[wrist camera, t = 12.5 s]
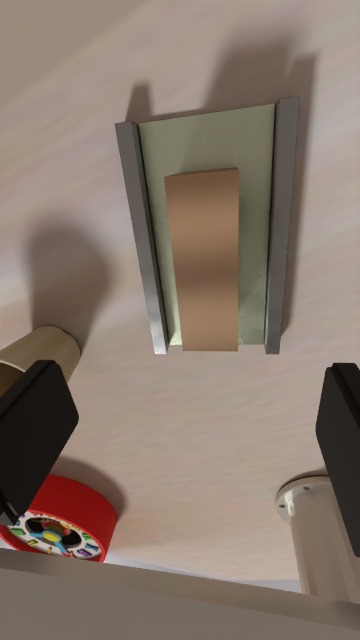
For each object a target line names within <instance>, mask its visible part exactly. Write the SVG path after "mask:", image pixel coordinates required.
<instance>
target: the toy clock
mask: <svg viewBox="0 0 360 640" xmlns="http://www.w3.org/2000/svg"><path fill="white" fill-rule="evenodd" d="M116 522H117V515H116V512H115V510H114V508H113V507H112V505H111V504H110V503H109V502H108V501H107V500H106V499H105V498H104V497H103V496H102V495H100V494H99V493H98V492H96V491H95V490H93V489H91V488H90V487H88V486H86V485H84V484H82V483H79V482H77V481H74V480H72V479H68V478H65V477H61V476H55V475H48V476H47V477H46V479H45V481H44V482H43V484H42V486H41V488H40V489H39V491H38V493H37V495H36V496H35V498H34V500H33V501H32V503H31V505H30V507H29V508H28V510H27V511H26V513H25V514H24V515H22V516H20V518H19V519H18V521H17V523H16V525H15V526H8V525H0V537H1V538H2V539H3V540H4V541H5V542H6V543H8V544H9V545H10V546H12V547H13V548H15V549H16V550H19V551H26V552H33V553H40V554H47V555H54V556H61V557H68V558H75V559H81V560H88V561H95V562H102V563H103V561H104V560H105V558H106V554H107V551H108V548H109V545H110V541H111V538H112V535H113V532H114V529H115V525H116Z"/></svg>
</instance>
